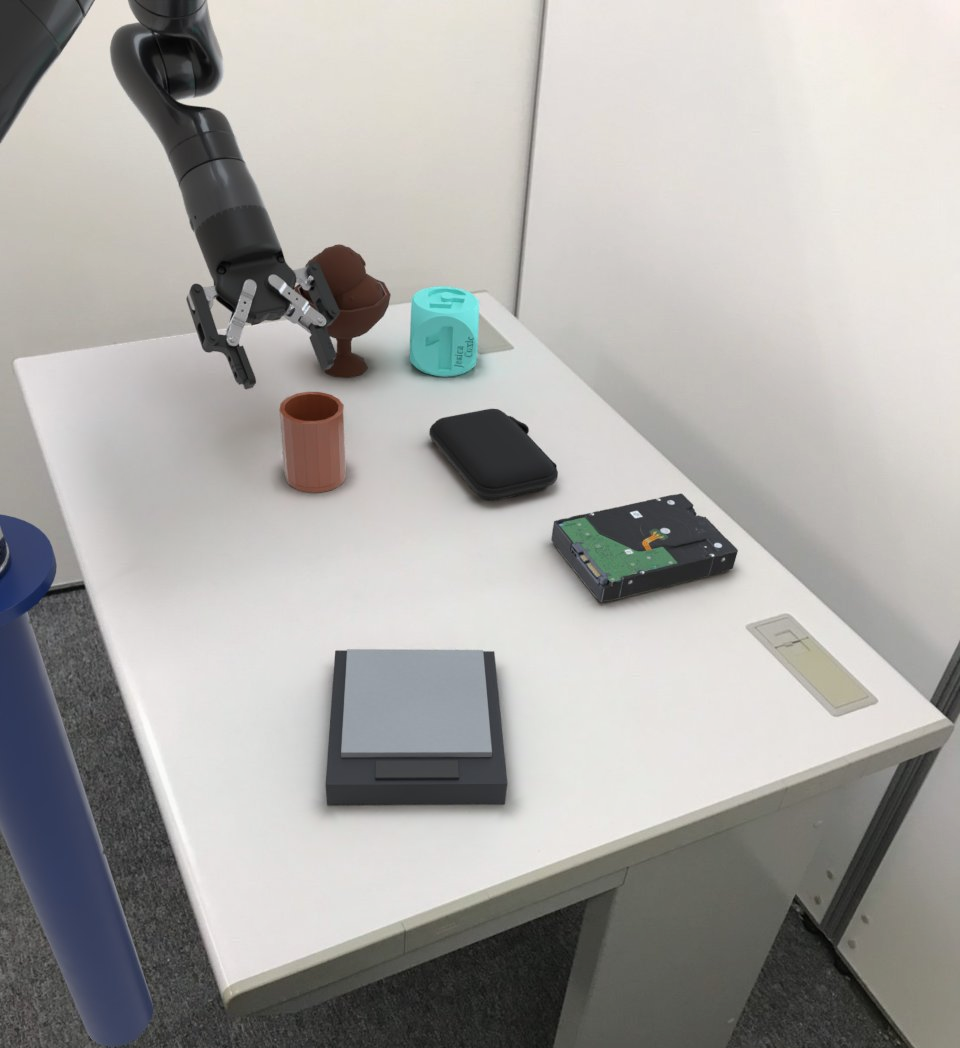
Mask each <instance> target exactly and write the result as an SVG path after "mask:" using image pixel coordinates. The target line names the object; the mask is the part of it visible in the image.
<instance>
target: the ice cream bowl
mask: <svg viewBox="0 0 960 1048" xmlns="http://www.w3.org/2000/svg"><path fill="white" fill-rule="evenodd" d="M312 261H315V262H317V263H318V264H319V266H320V268H321V270H322V272H323V274H324V277H325V279H326V281H327V283H328V286H329V288H330V290H331V292H332V295H333V297H334V299H335V301H336V304H337V306H338V308H339V311H340V314H339V315H338V317H337V318H336V319H335V320H334V321H333V323H332V324H331V325H330V326H327V331H328V333H329V336H330V338H332V339H335V340H336V358H335V359H334V364H333V366H332V367H331V368H330V369H327V370H323V372H324V373H326V374H328V375H331V376H332V377H334V378H335V377H336V378H355V377H357V376H361V375H363V374H364V373H365V372H366V371H367V370H368V365H367V362H366V360H365V357H363V356H361V355H359V354H356V353H354V352H353V351H352V341H353V339H354V338H358V337H361V336H364V335H365V334H367V333H368V332H369V331H370V330H372V329H373V327H374V326H376V324H377V323H379V321H380V320H382V319H383V318H384V316H385V314H386V313H387V310H388V308H389V305H390V301H391V293H390V291H389V288H388V287H387V285H386V283H385V282H384V281H382V280H379V279H377V278H375V277H373V276H372V275H370V274H368V273H367V270H366V267H367V265H366V263H367V262H366V261H365V259H364V258H363V257H362V255H361V254H360V253H358V252H356V251H355V250H354V249H353V248H351V247H349V246H346V245H344V244H334V245H332V246H328V247H325V248H324V249H323V250H322V251H321V252H319V253H318V254H316V255H314V256H313V257H312V258H311V259H309V260H308V261H307V262H306V264H305V266H304V267H307V266H308V265H309V263H310V262H312ZM294 291H296V292H297V293H298V294H299V295H301V296H302V297H303V298H305V299H306V300H307V301H308V302H309V305H310V306H311V307H312V308H314V309H315V310H316V308H315V306H314V303H313V301H312V299H311V297H310V294H309V292H308V291H307V290H304V289H303V288H302V286H301V285H300V284H299V283H297V285H295V288H294ZM316 311H317V310H316Z"/></svg>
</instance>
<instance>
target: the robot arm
mask: <svg viewBox="0 0 960 1048" xmlns="http://www.w3.org/2000/svg"><path fill="white" fill-rule="evenodd" d="M95 1H96V0H0V146H1V145H2V143H4V140H5V139H6V137H7V135H8V134H9V133H10V131H11V129H12V128H13V126H14V125H15V123H16V122H17V121H18V118H19V117H20V115H21V114H22V113H23V111H24V109H25V107H26V106H27V104H28V102H29V101H30V99H31V98H32V96H33V94H34V93H35V91H36V90H37V88H38V86H39V85H40V84H41V82H42V80H43V79H44V78H45V77H46V76H47V74H48V72H49V71H50V70H51V69H52V67H53V66H54V65H55V63H56V62H57V60H58V59H59V58H60V56H61V55H62V53H63V52H64V50H65V49H66V47H67V46H68V44H69V43H70V41H71V40H72V38H73V37H74V35H75V33H76V32H77V31H78V29H79V28H80V26H81V24H82V23H83V21H84V20H85V19H86V17H87V15H88V13H89V11H90V10H91V8H92V7H93V5H94V2H95ZM127 3H128V6H129V9H130V11H131V13H132V15H133V16H134V18H135V19H136V20H137V21H138V22H133V23H132V22H131V23H127V24H124V25H121V26H120V27H118V28H117V29H116V30H115V32H114V33H113V35H112V37H111V39H110V40H111V41H110V45H109V58H110V64H111V67H112V71H113V73H114V76H115V79H116V80H117V82H118V84H119V86H120V87H121V89H122V91H123V92H124V94H125V95H126V97H127V98H128V100H129V101H130V103H131V104H132V105H133V106H134V107H135V109H136V110H137V111H138V112H139V114H140V115H141V117H142V118H143V119H144V121H145V122H146V123H147V126H149V128H150V129H151V131H152V132H153V134H154V135H155V137H156V139H157V140H158V142H159V143H160V145H161V147H162V149H163V151H164V153H165V155H166V157H167V160H168V163H169V165H170V168H171V170H172V173H173V175H174V178H175V181H176V183H177V186H178V188H179V190H180V193H181V197H182V202H183V206H184V210H185V214H186V215H187V218H188V223H189V226H190V229H191V230H192V232H193V233H194V236H195V238H196V241H197V243H198V246H199V250H200V252H201V254H202V257H203V259H204V262H205V265H206V267H207V269H208V272H209V274H210V277H211V279H212V281H213V285H210V286H202V285H201V284H200V283H193V284H192V285H191V287H190V289H189V291H188V293H187V296H186V304H187V306H188V310H189V312H190V315H191V318H192V322H193V324H194V327H195V330H196V334H197V336H198V340H199V343H200V346H201V349H202V350H203V352H205V353H208V354H210V353H212V352H217V353H221V354H222V355H224V356H225V358H226V360H227V363H228V366H229V367H230V370H231V373H232V376H233V378H234V381H235V382H236V383H237V384H238V385H239V386H240V385H242V386H243V388H244V389H245V390H249V389H253V388H254V387H255V386H256V384H257V379H256V378H257V377H256V376H255V375H256V374H255V373H254V370H253V368H252V365H251V362H250V360H249V358H248V355H247V352H246V350H245V348H244V345H240V344H239V343H240V341H241V337H242V334H243V331H244V327H245V326H246V323H247V324H250V325H251V326H256V325H259V324H261V323H262V322H266V321H269V322H270V321H271V322H274V321H279V320H281V318H282V317H283V318H285V319H286V320H288V321H289V322H290V323H292V324H294V325H295V324H296V325H298V326H299V327H301V328H302V329H304V330H305V331H306V332H307V333H309V334H310V336H309V337H308V338H309V341H310V344H311V346H312V348H313V352H314V354H315V356H316V359H317V361H318V364H319V367H320V369H321V371H324V370H327V369H330V368H331V367H332V366H333V364H334V359H335V358H336V352H337V350H336V348H335V346H334V344H333V342H332V339H331V338H332V337H330V336H329V333H328V331H327V326H330V325H331V324H332V323H333V321H334V320H335V319H336V318H337V317H338V315H339V314H340V311H339V308H338V306H337V304H336V301H335V299H334V297H333V295H332V292H331V290H330V288H329V286H328V283H327V281H326V279H325V277H324V274H323V272H322V270H321V268H320V266H319V264H318V263H317V262H315V261H312V262H310V263H309V265H308V266H307V267H305V266H304V267H301V268H297V269H292V268H291V267H290V265H288V263H287V261H286V258H285V256H284V252H283V249H282V246H281V243H280V241H279V238H278V235H277V233H276V230H275V228H274V225H273V222H272V220H271V218H270V214H269V212H268V210H267V208H266V205H265V201H264V199H263V197H262V194H261V191H260V189H259V187H258V183H256V181H255V179H254V176H253V175H252V174H251V171H250V169H249V166H248V165H247V163H246V162H247V161H246V159H245V158H244V154H243V152H242V149H241V147H240V144H239V141H238V139H237V136H236V134H235V131H234V129H233V126H232V124H231V122H230V120H229V118H228V117H227V116H226V115H225V114H224V113H223V112H222V111H221V110H218V109H216V108H213V107H208V106H198V105H190V104H185V103H183V102H181V101H186V100H187V101H188V100H192V99H197V98H203V97H207V96H209V95H212V94H213V93H214V92H216V91H217V90H218V88H220V85H221V84H222V82H223V79H224V76H225V59H224V56H223V52H222V49H221V46H220V43H219V41H218V38H217V35H216V32H215V29H214V26H213V24H212V20H211V19H212V18H211V16H210V15H211V14H210V11H209V3H208V0H127ZM296 283H297V284H300V285H301V286H302V288H303V289H304V290H307V291H308V292H309V294H310V297H311V299H312V301H313V303H314V306H315V308H316V310H317V311H316V310H315V309H314V308H312V307H311V306H310V305H309V302H308V301H307V300H306V299H305V298H303V297H302V296H301V295H299V294H298V293H297V292H296V291H294V288H295V287H296ZM214 300H216V301H217V302H218V303H219V304H220V305H221V306H222V307H224V308H226V309H227V310H228V311H229V312H231V313H230V317H229V319H228V323H227V327H226V329H225V334H221V333H219V332H218V329H217V326H216V323H215V319H214V317H213V314H212V309H213V306H214ZM10 563H11V555H10V551H9V548H8V545H7V543H6V541H5V538H4V535H3V533H2V530H1V527H0V579H1V578H2V577H3V576H4V575H5V573H6V572H7V571H8V569H9V566H10Z"/></svg>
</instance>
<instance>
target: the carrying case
mask: <svg viewBox="0 0 960 1048" xmlns="http://www.w3.org/2000/svg"><path fill="white" fill-rule="evenodd" d="M428 431H429V433H428V434H429V437H430V440H431V441H432V442H433V443H434V445H435V446H436V447H437V448H438V449H439V451H440V452H441V453H442V455H443V456H444V457H445V458H446V460H447V461H448V462H449V463H450V464H451V466H452V467H453V468H454V469H455V470H456V471H457V473H458V474H459V476H461V478H462V479H463V480H464V481H465V483H466V484H467V485H468V487H470V489H471V490H472V491H473V492H474V493H475V494H476V495H477V496H478V497H479V498H481V499H483V501H487V502H488V501H491V502H492V501H498V500H502V499H507V498H512V497H515V496H520V495H525V494H528V493H533V492H538V491H542V490H546V489H547V488H549V487H550V486H553V484H554V483H556V481H557V480H558V477H559V471H558V467H557V463H555V462H554V461H553V460H552V459H551V458H550V457H549V456H548V455H547V454H546V453H545V451H544V450H543V449H542V448H541V447H540V446H539V445H538V444H537V443H536V442H535V441H534V440H533V439H532V438H531V437H530V435H528V434H529V432H530V428H529V426H528V425H527V424H526V423H524V422H521V421H520V420H518V419H516V418H515V417H514V416H512V415H508V414H506V413H505V411H502V410H501V409H499V408H487V409H481V410H476V411H471V412H466V413H460V414H454V415H450V416H444V417H441V418H439V419H437V420H436V421H435V422H434V423H432V425H431V426H430V428H429V430H428Z"/></svg>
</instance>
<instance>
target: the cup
mask: <svg viewBox="0 0 960 1048" xmlns="http://www.w3.org/2000/svg"><path fill="white" fill-rule="evenodd" d="M278 409H279V422H280V433H281V446H282V458H283V471H284V477H285V481H286V483H287V485H289V486H290V487H291V488H293V489H295V490H297V491H301V492H305V493H312V494H313V493H316V494H317V493H325V492H326V493H327V492H329V491H332V490H334V489H337V488H339V487H340V486H342V484H343V483H344V482H345V480H346V477H347V473H346V470H347V465H346V464H347V463H346V462H347V460H346V434H345V431H346V430H345V405H344V404H343V402H342V401H341V399H340V398H338V397H336V396H334V395H333V394H330V393H327V392H321V391H302V392H297V393H294V394H292V395H290V396H287V397H286V398H284V399H283V400H282V401H281V402H280V404H279V408H278Z"/></svg>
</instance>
